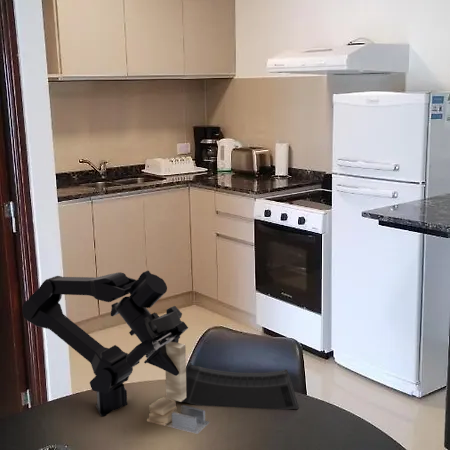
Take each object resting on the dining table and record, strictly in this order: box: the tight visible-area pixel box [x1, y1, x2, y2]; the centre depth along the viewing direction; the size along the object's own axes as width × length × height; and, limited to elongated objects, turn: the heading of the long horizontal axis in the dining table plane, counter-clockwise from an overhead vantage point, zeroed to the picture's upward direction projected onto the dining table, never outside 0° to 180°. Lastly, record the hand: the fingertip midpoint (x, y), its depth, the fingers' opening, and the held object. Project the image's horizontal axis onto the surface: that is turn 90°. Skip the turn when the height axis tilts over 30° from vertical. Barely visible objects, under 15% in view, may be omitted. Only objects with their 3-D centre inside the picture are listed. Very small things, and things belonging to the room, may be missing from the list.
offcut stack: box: [146, 397, 180, 427], centre depth 153 cm, size 5×6×4 cm
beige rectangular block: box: [165, 342, 187, 403], centre depth 149 cm, size 4×2×13 cm, turn 63°
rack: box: [167, 404, 211, 435], centre depth 150 cm, size 8×6×4 cm
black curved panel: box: [182, 362, 299, 410], centre depth 159 cm, size 17×3×30 cm
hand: (180, 372), depth 149 cm, fingers closed on beige rectangular block, 2 cm apart
